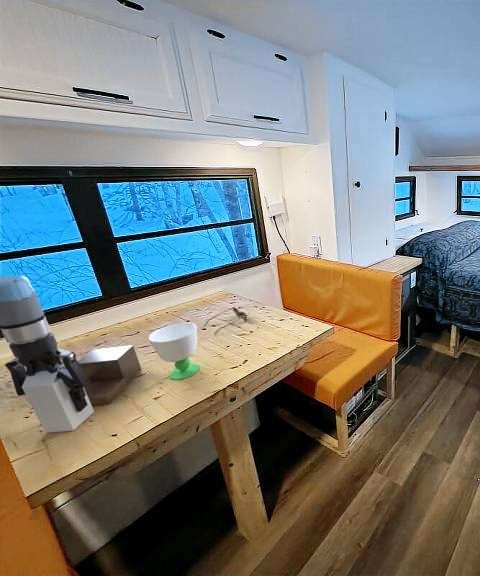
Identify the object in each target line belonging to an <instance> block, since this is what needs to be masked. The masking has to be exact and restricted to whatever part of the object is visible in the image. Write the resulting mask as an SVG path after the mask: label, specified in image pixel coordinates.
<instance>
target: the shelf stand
mask: <svg viewBox="0 0 480 576" xmlns="http://www.w3.org/2000/svg"><path fill="white" fill-rule="evenodd" d="M78 360H79V361H78V363H79V365H80V366H81V368H82V369H83V371H84V372H85V374H86V375H87V377H88V379H89V380H90V382H89V383H88V384H87V385H85V386H84V389H85V392H86V394H87V396H88V399H89V401H90V403H91V405H92V407H99V406H106V405H110V404H111V403H112V402H113V401H115V399H116V398H117V397H118V396H119V395H120V394H121V393H122V391H124V389H125V388H127V386H128V385H129V384H130V383H131V382H132V381H133V380H134V379H135V377H137V375H138V374H139V373H140V372H141V371H142V366H141V364H140V361H139V358H138V356H137V353H136V350H135V347H134V344H132V345H131V344H130V345H123V346H114V347H104V348H96V349H95V348H94V349H92V350H91V351H89V352H88V353H86V354H85V355H84V356H83V357H81V358H80V359H78Z"/></svg>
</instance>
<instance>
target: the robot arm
mask: <svg viewBox="0 0 480 576" xmlns="http://www.w3.org/2000/svg"><path fill="white" fill-rule="evenodd" d="M0 331H1V333H2V336H3V337H4V339H5V341H6V343H8V344H9V345H8V347H9V349H10V351H11V353H12V355H13V356H14V357H15V358H13V359H11V360H9V361H8V362H6V363H5V364H4V366H5V367H6V369H7V370H8V371H9V374H10V376H11V380H12V383H13V385H14V389H15V392H16V395H17V396H19V397H22V396H26V394H25V392H24V390H23V389H22V385H23V383H24V381H25V379H26V377H27V375H28V377H29V376H34V374H35V373H36V372H39V371H48V372H49V373H51V374H52V373H55V372H57V368H55V369H54V367H55V365H56V364H59V365H60V367H64V368H59V371H58V373H57V375H56V376H57V377H58V378H62V380H63V382H64V384H65V385H66V386H68V387H69V388H70V389H71V391H70V392H69V394H70V396H71V398H72V401H73V403H74V405H75V407H76V409H77V411H78V412H81V411H82V410H83V409H84V408H85V407H86V406H87V405H88V404H87V402H86V400H85V396H86V393H85V391H84V389H83V387H84V386H85V385H87V384H88V383H89V382H90V380H89V379H88V377H87V375H86V374H85V372H84V371H83V369H82V368H81V366H80V365H79V363H78V361H77V360H78V359H77V355H76V352H73V351H70V352H71V353H69V354H62V353H61V352H60V351H58V349H59V348H58V341H57V339H56V337H55V335H54V333H53V332H51V331H52V329H51V327H50V324H49V322H48V320H47V317H46V316H45V313H44V310H43V308H42V305H41V303H40V301H39V298H38V295H37V293H36V290H35V288H34V287H33V286H32V284H31V282H30V280H29V279H28V277H26V276H23V275H8V276H1V277H0ZM60 359H61V360H62V361H61V360H60ZM75 384H76V385H75Z"/></svg>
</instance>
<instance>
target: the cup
mask: <svg viewBox="0 0 480 576" xmlns="http://www.w3.org/2000/svg"><path fill="white" fill-rule="evenodd" d="M148 341H149V343H150V345H151V346H152V347H153V349H154V351H155V352H156V354H157V355H158V357H159V358H160V359H161V360H162V361H164V362H167V363H174V367H175V368H174V369H173V370H172V371H171V372H170V373H169V378H170V379H171V380H177V381H178V380H184V379H187V378H190V377H192V376H194V375H195V374H197V373H198V372H199V371H200V369H201V368H200V365H199V364H197V363H191V360H190V357H192V356H193V355H194V354H195V353H196V351H197V349H198V327H197V324H195V323H193V322H177V323H172V324H169V325H165V326H163V327H160V328H158V329H156V330H154V331H152V333H150V335H148Z"/></svg>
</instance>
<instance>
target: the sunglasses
mask: <svg viewBox="0 0 480 576" xmlns="http://www.w3.org/2000/svg"><path fill="white" fill-rule="evenodd" d="M231 310H233V312H234V314H235V316H236V317H237V318H238V319H237V320H234V321H232V322H230V323H228V324H225V325H224V326H221V327H220V328H218V329H217V330H215V332H214V334H215V335H216V334H217V333H218V332H219V331H220V330H221V329H223V328H225V327H228V326H230V325H232V324H234V323H236V322H238V321H240V320H241V319H242V320H243V321H244V322H245V321H246V322H245V323H247V322H248V317H247V316H248V315H247V313H245V312H244V311H240V310H239V309H238V308H236V307H234V306H233V307H231V308H228V309H227V310H224V311H223V312H220V313H218V314H216V315H214V316H213V317H211V318H210V319H207V321H206V322H205V324H204V327H206V325H207V324H208V323H209V322H210V320H213V319H215V318H217V317H218V316H220V315H222V314H223V313H226V312H228V311H231Z"/></svg>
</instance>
